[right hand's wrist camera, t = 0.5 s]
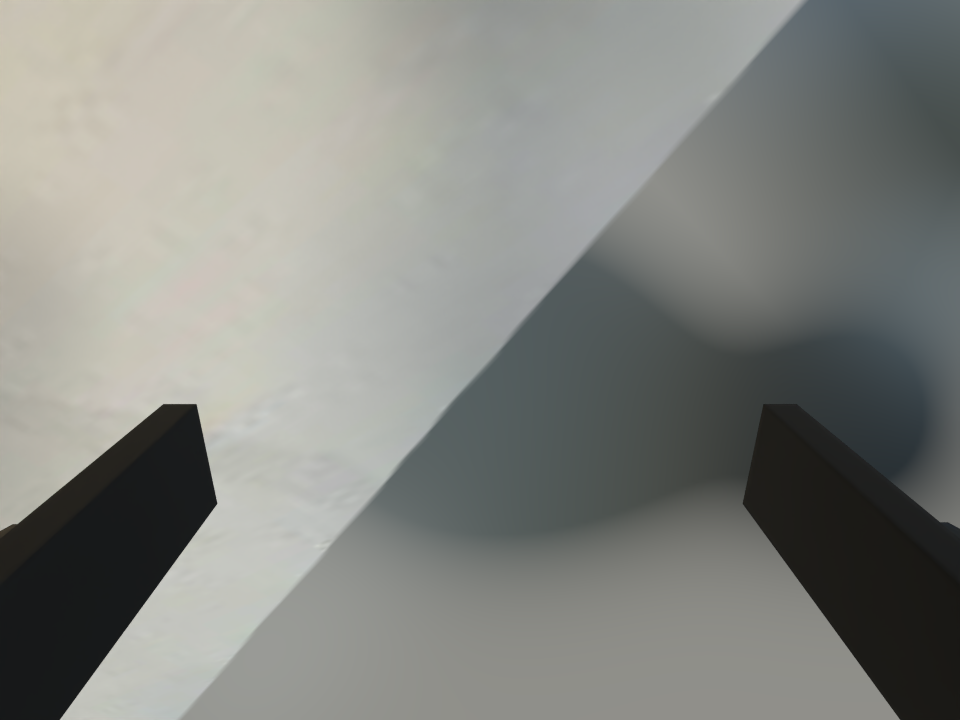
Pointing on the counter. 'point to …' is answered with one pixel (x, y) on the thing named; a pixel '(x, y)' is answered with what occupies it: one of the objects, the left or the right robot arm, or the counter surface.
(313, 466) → the counter surface
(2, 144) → the counter surface
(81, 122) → the counter surface
